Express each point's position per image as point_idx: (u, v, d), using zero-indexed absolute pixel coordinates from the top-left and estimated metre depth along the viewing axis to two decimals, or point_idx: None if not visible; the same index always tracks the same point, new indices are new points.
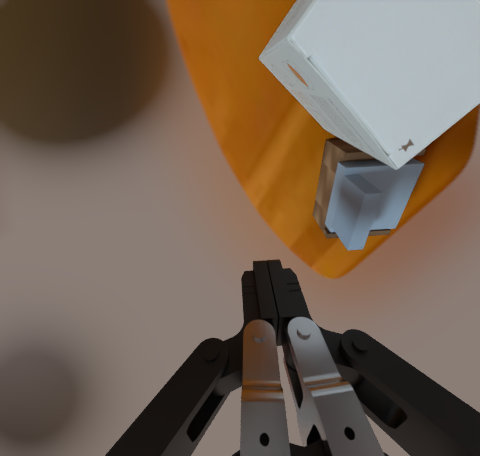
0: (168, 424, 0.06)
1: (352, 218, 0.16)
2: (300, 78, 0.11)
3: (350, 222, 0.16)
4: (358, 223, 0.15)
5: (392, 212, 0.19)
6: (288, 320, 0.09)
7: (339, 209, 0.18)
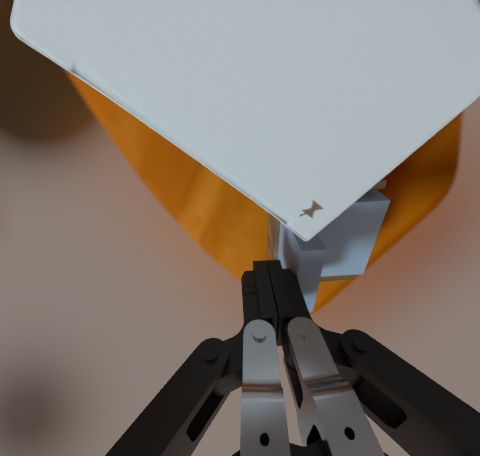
0: (168, 424, 0.06)
1: None
2: None
3: None
4: (299, 284, 0.11)
5: (356, 256, 0.15)
6: (288, 320, 0.09)
7: (285, 256, 0.14)
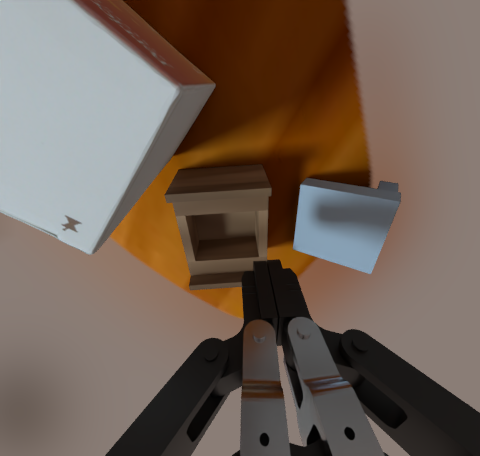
0: (168, 424, 0.06)
1: None
2: None
3: None
4: None
5: None
6: (288, 320, 0.09)
7: None
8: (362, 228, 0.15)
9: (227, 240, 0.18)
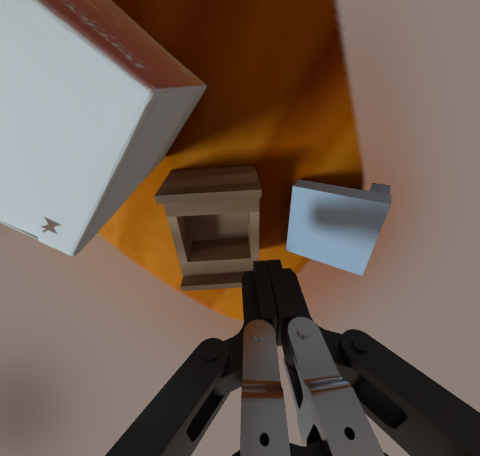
0: (168, 424, 0.06)
1: None
2: None
3: None
4: None
5: None
6: (288, 320, 0.09)
7: None
8: (353, 230, 0.15)
9: (220, 241, 0.18)
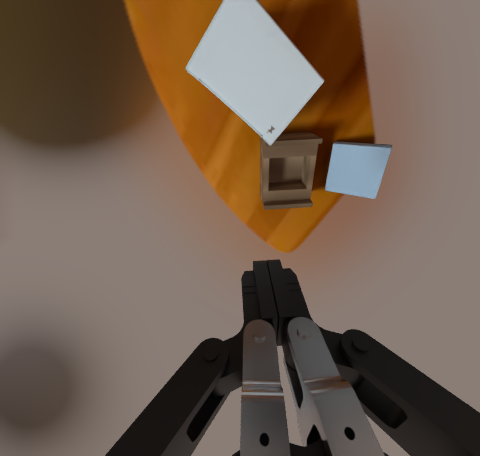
0: (168, 424, 0.06)
1: None
2: None
3: None
4: None
5: None
6: (288, 320, 0.09)
7: None
8: (370, 167, 0.25)
9: (283, 183, 0.29)
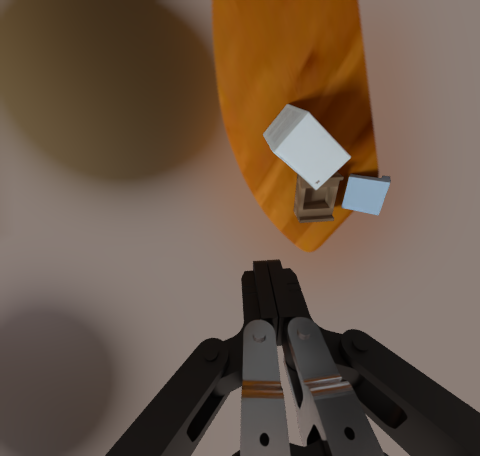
0: (168, 424, 0.06)
1: None
2: None
3: None
4: None
5: None
6: (288, 320, 0.09)
7: None
8: (375, 194, 0.36)
9: (312, 202, 0.40)
